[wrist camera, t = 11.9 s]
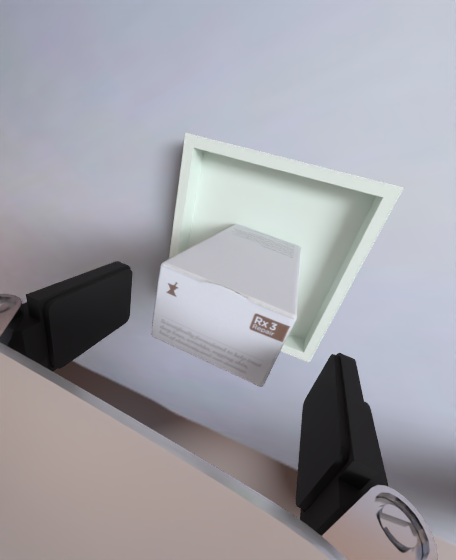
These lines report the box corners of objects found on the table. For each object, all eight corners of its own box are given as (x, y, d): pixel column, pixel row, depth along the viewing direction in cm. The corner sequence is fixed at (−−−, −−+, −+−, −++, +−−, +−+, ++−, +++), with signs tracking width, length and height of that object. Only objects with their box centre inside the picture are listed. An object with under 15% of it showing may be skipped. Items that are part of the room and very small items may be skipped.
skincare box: (223, 265, 22) (142, 341, 12) (236, 219, 20) (152, 259, 10) (286, 289, 21) (259, 397, 10) (306, 243, 19) (298, 319, 8)
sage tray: (391, 186, 16) (403, 187, 14) (309, 345, 23) (309, 362, 21) (199, 138, 19) (185, 132, 17) (175, 292, 26) (163, 302, 24)
